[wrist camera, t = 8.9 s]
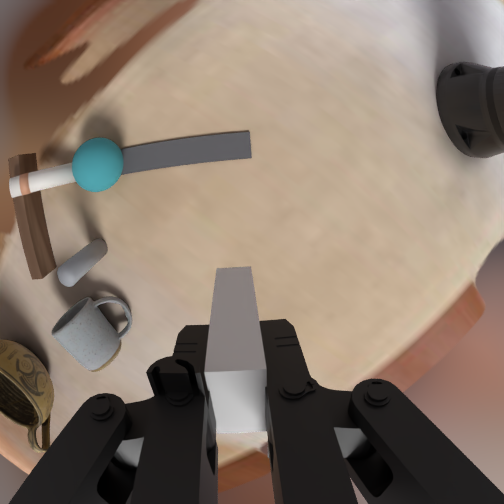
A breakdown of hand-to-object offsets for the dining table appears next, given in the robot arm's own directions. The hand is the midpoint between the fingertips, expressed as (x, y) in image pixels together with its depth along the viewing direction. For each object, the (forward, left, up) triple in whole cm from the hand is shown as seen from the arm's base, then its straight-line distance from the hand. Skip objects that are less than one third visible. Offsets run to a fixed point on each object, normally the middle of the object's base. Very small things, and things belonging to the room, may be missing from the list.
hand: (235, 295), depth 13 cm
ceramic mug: (+20, +13, -22) cm, 32 cm away
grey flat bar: (+5, -7, -21) cm, 23 cm away
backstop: (+26, -3, -21) cm, 34 cm away
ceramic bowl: (+41, +23, -21) cm, 52 cm away
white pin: (+18, -7, -20) cm, 28 cm away
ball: (+14, -7, -18) cm, 24 cm away
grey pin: (+17, +3, -21) cm, 27 cm away
